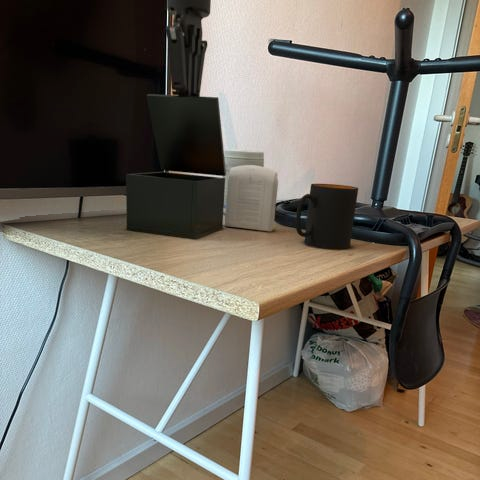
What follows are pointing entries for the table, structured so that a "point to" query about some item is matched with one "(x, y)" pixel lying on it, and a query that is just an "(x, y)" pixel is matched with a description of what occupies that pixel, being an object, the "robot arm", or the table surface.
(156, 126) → the bin lid
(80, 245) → the table surface
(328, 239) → the mug
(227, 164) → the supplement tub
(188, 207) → the bin
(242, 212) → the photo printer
